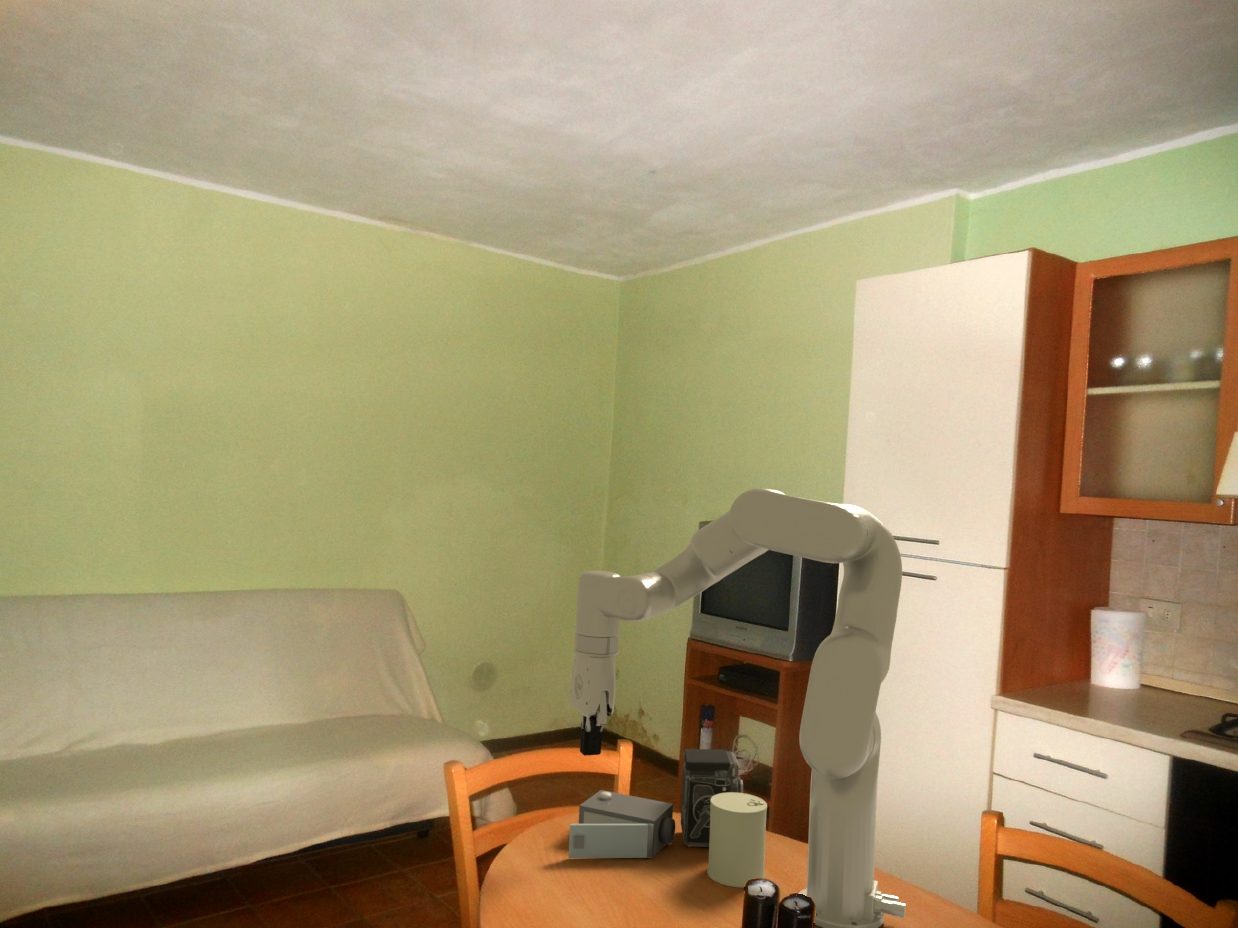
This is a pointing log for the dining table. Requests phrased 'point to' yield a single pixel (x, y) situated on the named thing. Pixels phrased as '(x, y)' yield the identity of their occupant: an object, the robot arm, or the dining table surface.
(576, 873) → the dining table surface
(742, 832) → the can
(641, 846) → the side door
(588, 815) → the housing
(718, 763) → the camera
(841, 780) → the robot arm
